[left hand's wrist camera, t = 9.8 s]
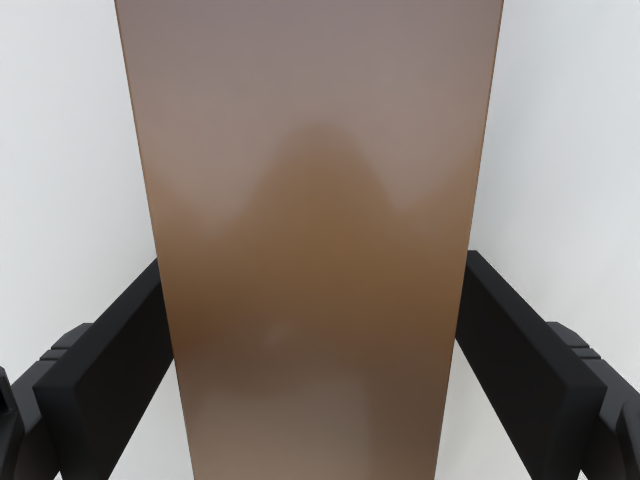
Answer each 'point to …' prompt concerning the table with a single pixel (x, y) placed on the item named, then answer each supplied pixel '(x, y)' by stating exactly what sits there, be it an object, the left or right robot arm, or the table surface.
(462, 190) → the bar
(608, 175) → the table surface
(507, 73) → the table surface
